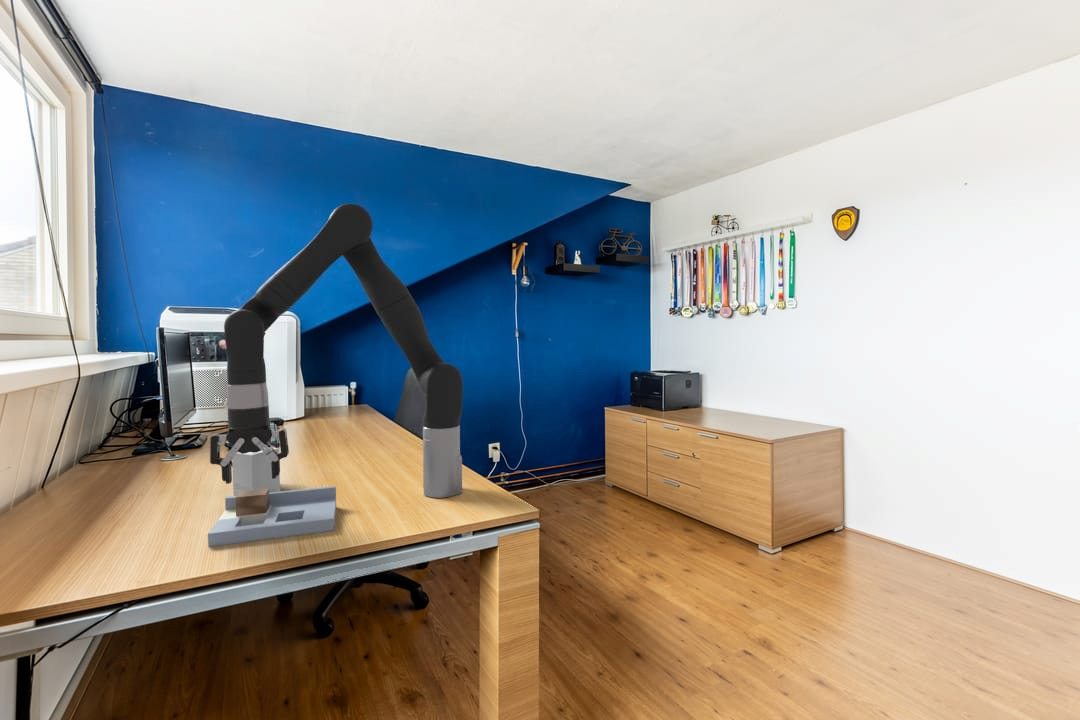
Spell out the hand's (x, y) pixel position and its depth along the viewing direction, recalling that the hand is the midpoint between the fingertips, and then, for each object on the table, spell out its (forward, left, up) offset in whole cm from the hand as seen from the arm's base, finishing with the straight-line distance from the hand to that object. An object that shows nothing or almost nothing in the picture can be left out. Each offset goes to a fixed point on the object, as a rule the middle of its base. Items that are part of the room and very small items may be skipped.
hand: (252, 480), depth 105 cm
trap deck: (-5, +3, -9) cm, 11 cm away
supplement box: (+2, -15, -10) cm, 18 cm away
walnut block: (0, 0, -7) cm, 7 cm away
